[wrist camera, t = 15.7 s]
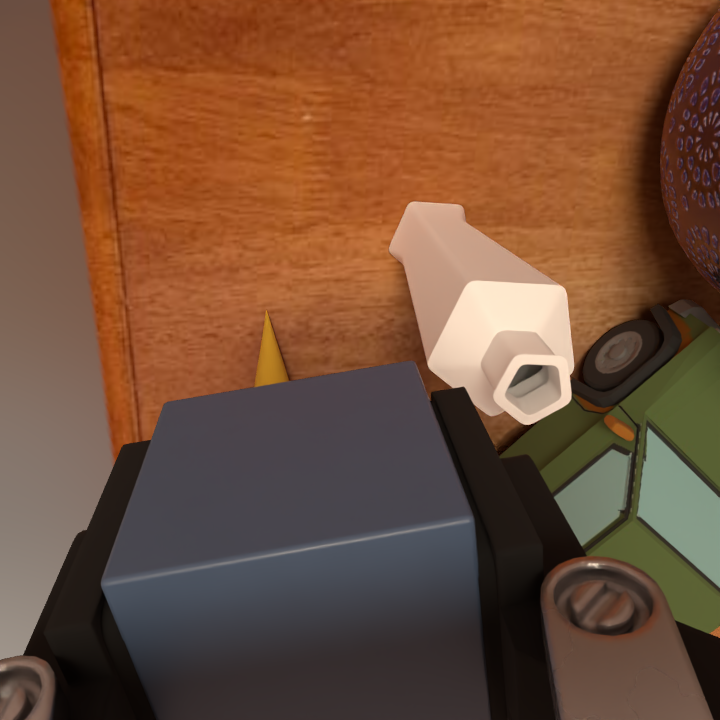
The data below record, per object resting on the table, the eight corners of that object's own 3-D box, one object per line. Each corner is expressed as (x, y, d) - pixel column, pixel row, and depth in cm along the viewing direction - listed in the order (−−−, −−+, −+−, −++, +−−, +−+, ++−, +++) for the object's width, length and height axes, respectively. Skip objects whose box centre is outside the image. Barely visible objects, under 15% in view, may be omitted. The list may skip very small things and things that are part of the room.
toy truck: (771, 401, 37) (925, 517, 28) (482, 631, 42) (533, 790, 33) (650, 265, 33) (784, 349, 24) (348, 537, 38) (365, 690, 29)
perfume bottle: (370, 204, 31) (430, 332, 17) (465, 180, 31) (602, 290, 17) (391, 297, 33) (460, 479, 19) (481, 275, 33) (614, 442, 19)
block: (222, 591, 12) (192, 817, 9) (162, 400, 11) (96, 582, 7) (438, 553, 12) (498, 762, 9) (415, 357, 11) (475, 517, 7)
